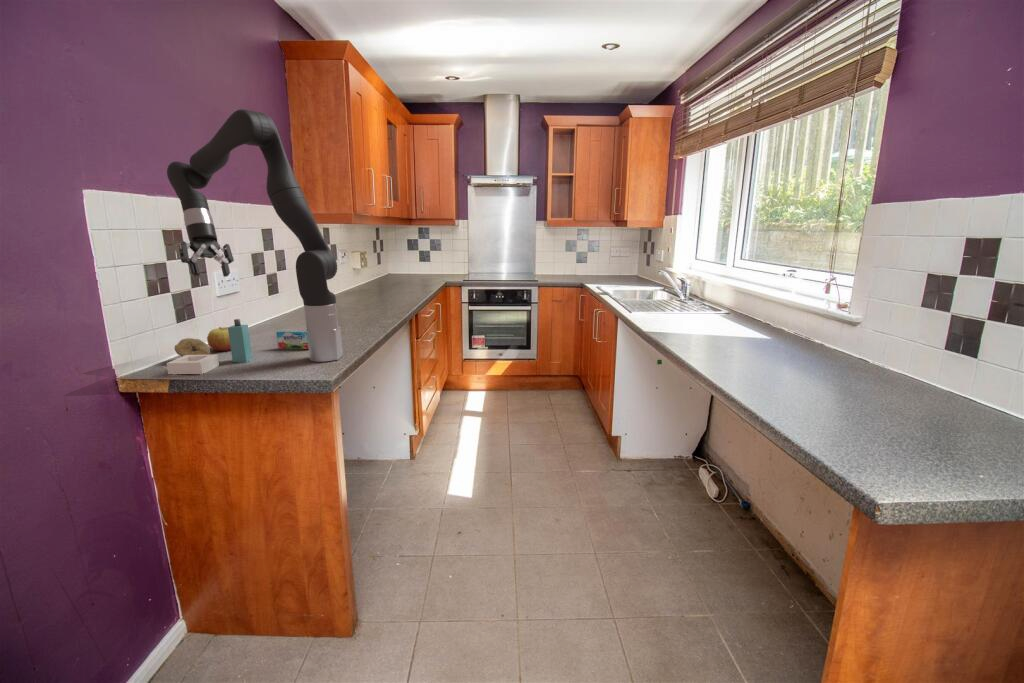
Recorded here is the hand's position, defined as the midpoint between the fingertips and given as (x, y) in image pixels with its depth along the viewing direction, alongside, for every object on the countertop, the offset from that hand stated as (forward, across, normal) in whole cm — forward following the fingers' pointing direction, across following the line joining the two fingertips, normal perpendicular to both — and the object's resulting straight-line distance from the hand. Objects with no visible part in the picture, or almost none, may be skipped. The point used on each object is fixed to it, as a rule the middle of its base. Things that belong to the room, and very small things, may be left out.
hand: (212, 275), depth 146 cm
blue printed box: (+27, +19, -3) cm, 34 cm away
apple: (+21, +7, +16) cm, 27 cm away
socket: (+29, -11, -1) cm, 31 cm away
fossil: (+24, -6, +11) cm, 27 cm away
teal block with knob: (+28, +2, -2) cm, 28 cm away
